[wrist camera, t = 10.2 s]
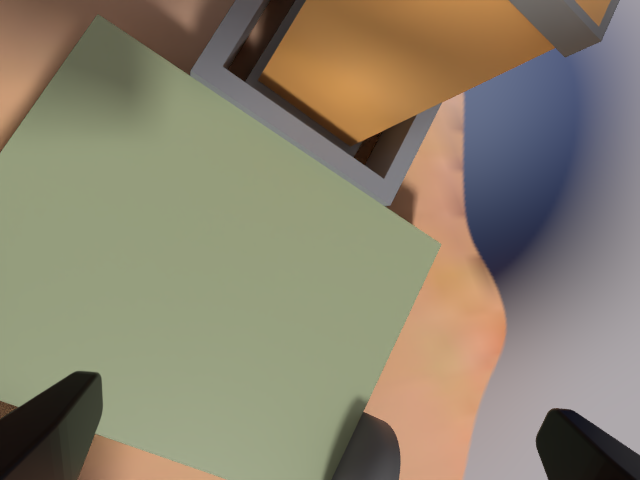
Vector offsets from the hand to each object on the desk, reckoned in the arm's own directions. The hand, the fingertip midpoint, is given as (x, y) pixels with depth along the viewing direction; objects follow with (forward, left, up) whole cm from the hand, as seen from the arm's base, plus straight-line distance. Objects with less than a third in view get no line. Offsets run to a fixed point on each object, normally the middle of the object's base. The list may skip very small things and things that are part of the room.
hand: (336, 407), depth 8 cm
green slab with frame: (+4, +4, -11) cm, 12 cm away
